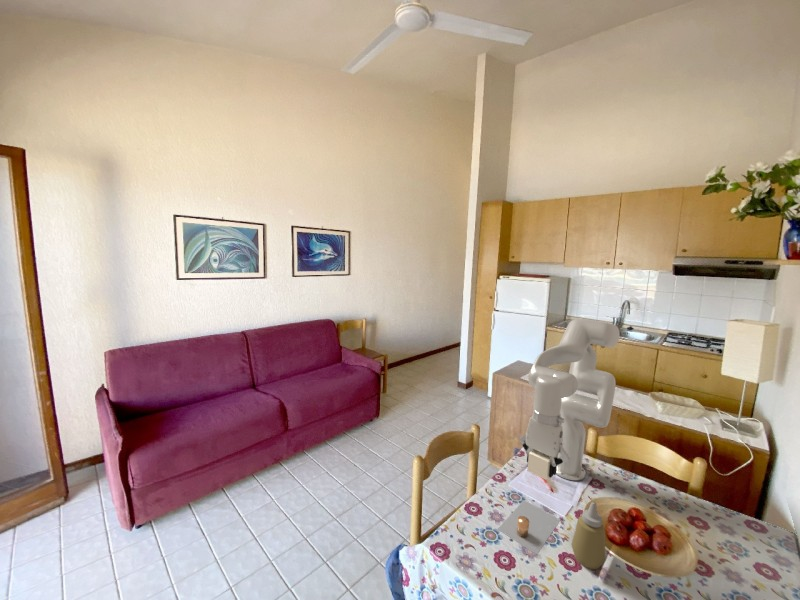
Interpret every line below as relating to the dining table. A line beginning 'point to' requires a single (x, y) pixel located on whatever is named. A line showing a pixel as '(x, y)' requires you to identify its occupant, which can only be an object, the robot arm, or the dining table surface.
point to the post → (523, 526)
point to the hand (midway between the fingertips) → (540, 469)
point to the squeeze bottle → (589, 539)
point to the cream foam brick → (539, 464)
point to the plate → (530, 526)
